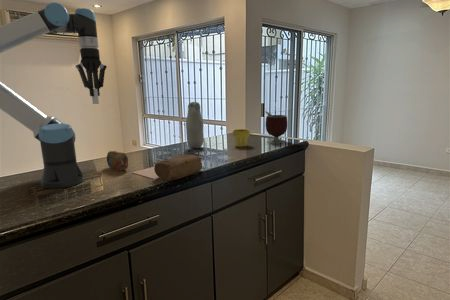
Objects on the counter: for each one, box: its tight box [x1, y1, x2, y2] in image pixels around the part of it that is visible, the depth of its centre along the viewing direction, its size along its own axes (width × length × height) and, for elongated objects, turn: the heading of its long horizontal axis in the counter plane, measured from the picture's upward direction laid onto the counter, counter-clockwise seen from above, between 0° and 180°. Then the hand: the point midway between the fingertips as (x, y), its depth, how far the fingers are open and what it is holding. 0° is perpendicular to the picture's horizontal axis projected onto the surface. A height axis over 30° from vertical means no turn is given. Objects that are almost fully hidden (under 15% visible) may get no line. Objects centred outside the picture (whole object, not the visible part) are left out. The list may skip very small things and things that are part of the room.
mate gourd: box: [264, 110, 288, 145], centre depth 196 cm, size 16×14×20 cm
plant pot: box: [232, 128, 251, 148], centre depth 188 cm, size 10×10×10 cm
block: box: [153, 153, 203, 182], centre depth 129 cm, size 11×8×20 cm
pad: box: [132, 166, 161, 181], centre depth 136 cm, size 20×17×1 cm
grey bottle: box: [185, 101, 205, 149], centre depth 183 cm, size 10×10×28 cm
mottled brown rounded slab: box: [106, 150, 129, 172], centre depth 141 cm, size 15×3×8 cm, turn 49°
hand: (95, 103), depth 135 cm, fingers closed
